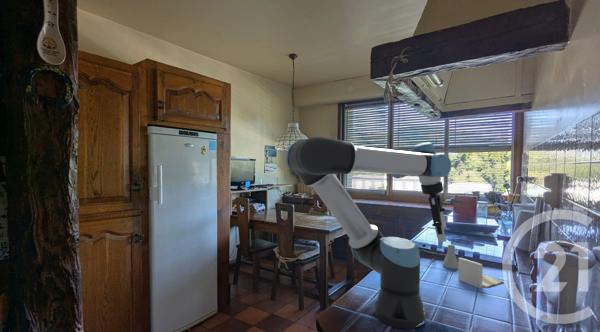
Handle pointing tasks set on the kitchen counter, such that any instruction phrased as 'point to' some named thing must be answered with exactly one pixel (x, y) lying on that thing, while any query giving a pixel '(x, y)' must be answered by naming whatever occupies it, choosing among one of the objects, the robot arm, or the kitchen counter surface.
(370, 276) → the kitchen counter surface
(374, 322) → the kitchen counter surface
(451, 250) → the flask
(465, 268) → the tile
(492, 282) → the board
